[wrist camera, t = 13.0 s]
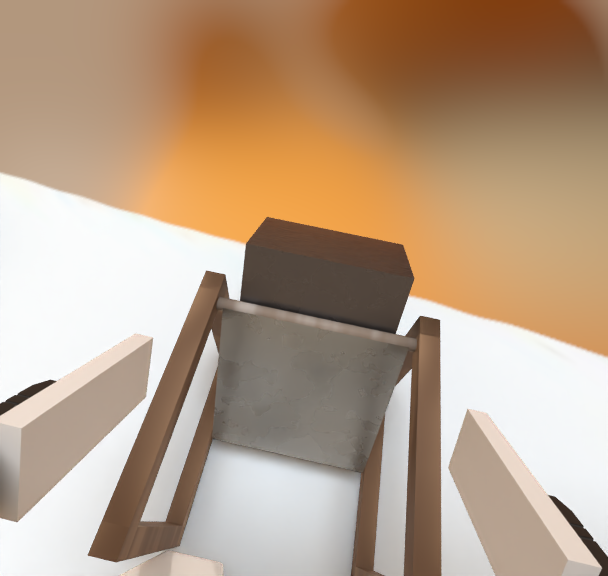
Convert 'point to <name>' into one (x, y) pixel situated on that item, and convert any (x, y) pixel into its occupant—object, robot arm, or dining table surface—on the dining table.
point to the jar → (177, 566)
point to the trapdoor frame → (164, 414)
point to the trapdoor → (311, 345)
